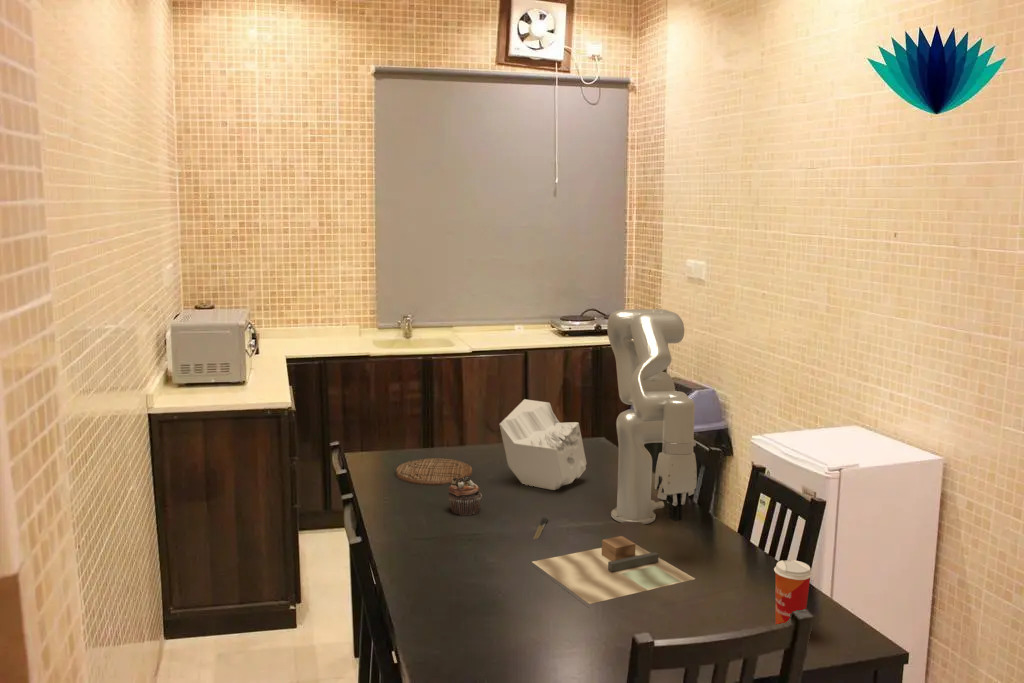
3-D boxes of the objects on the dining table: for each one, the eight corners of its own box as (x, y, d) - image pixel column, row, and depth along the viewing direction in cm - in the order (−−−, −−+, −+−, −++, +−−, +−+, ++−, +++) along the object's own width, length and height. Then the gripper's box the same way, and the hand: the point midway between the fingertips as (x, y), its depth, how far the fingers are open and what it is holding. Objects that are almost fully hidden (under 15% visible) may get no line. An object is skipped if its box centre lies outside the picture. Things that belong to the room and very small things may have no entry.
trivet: (469, 487, 278) (469, 481, 278) (391, 485, 279) (391, 480, 278) (474, 464, 303) (474, 459, 303) (401, 463, 303) (401, 457, 303)
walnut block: (621, 550, 225) (621, 536, 224) (635, 559, 220) (635, 544, 219) (601, 554, 222) (602, 539, 222) (615, 563, 217) (615, 548, 216)
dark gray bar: (654, 559, 219) (655, 551, 219) (658, 561, 218) (658, 554, 218) (608, 569, 213) (608, 561, 212) (611, 572, 211) (611, 564, 211)
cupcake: (462, 519, 249) (462, 485, 248) (442, 510, 256) (442, 476, 255) (488, 511, 255) (488, 478, 254) (467, 503, 263) (468, 470, 261)
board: (631, 545, 231) (631, 541, 231) (695, 582, 209) (695, 578, 209) (531, 565, 217) (531, 561, 217) (589, 608, 195) (589, 603, 195)
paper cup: (765, 620, 190) (768, 559, 188) (799, 619, 191) (803, 558, 189) (778, 638, 182) (783, 574, 180) (814, 637, 183) (819, 573, 181)
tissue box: (591, 472, 285) (579, 406, 275) (568, 501, 273) (555, 433, 263) (537, 463, 296) (524, 398, 285) (513, 490, 284) (499, 424, 274)
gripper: (691, 441, 223) (689, 510, 225) (643, 447, 216) (641, 519, 218) (711, 447, 217) (708, 519, 219) (662, 454, 210) (660, 528, 212)
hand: (675, 519), depth 219 cm, fingers closed
